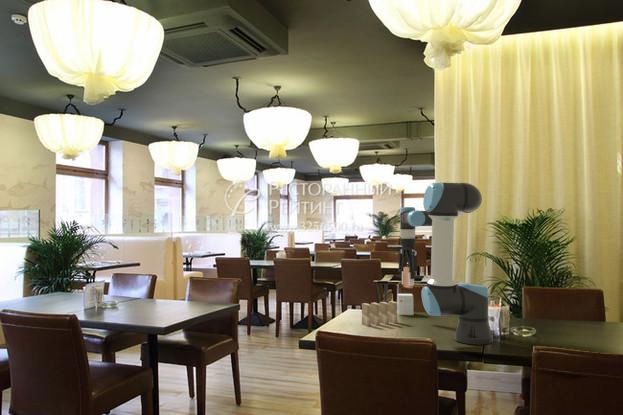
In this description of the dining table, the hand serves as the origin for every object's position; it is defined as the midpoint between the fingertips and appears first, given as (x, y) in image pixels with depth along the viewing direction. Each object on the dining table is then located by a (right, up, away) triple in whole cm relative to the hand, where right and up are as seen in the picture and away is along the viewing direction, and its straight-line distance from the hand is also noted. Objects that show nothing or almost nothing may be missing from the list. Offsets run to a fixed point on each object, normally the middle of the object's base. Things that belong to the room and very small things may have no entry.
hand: (407, 284), depth 251 cm
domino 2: (-17, -18, -8) cm, 26 cm away
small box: (+2, -18, +17) cm, 25 cm away
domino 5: (0, -1, 0) cm, 1 cm away
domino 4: (-8, -18, -4) cm, 20 cm away
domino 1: (-22, -18, -10) cm, 30 cm away
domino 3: (-13, -18, -6) cm, 23 cm away
